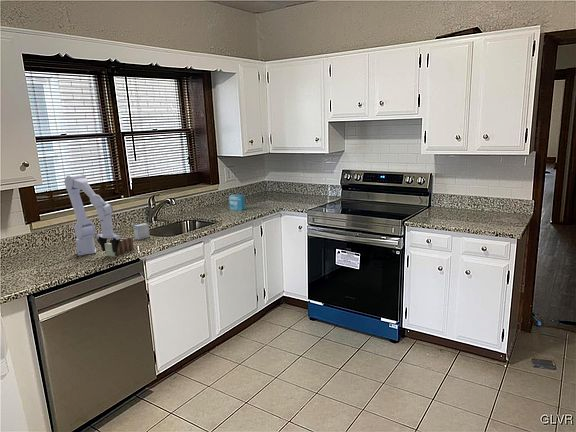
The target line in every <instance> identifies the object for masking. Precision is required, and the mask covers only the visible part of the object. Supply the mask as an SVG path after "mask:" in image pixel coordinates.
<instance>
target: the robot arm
mask: <svg viewBox="0 0 576 432" xmlns="http://www.w3.org/2000/svg"><path fill="white" fill-rule="evenodd" d="M88 180H89V179H88V178H87V177H86V175H85V174H83V173H82V174H74V175H67V176H66V177H65V179H64V181H63V182H64V186H65V189H66V192H67V193H68V197H69V199H70V203H71V205H72V209H73V211H74V212H73V213H74V215H75V219H76V223H75V224H74V225H73V226H74V234H75V237H77V238H75V243H76V253H77V256H84V255H85V256H86V255H90V254H96V253H97V248H96V245H95V239H94V237H95V234H96V232H97V229H96V227H95V225H94V222H93V221H92V220H90V219H88V215H87V212H86V209H85V207H84V204H83V200H82V197H81V194H80V192H81V191H82V192H84V194H86V196H87V197H88V198H89V202H90V203H91V205H92V206H93V207H94V208H95V209H96V215H97V216H98V219H99V221H100V222H99V223H100V229H101V233H97V234H96V238H97V239H96V241H97V243H99V246H100V247H101V250H102V252H106V251H105V243H108V242H107V241H108V239H110V240H109V243H110V242H111V244H112V248H113V252H117V249H118V244H119V242H120V238H121V237H120V234H116V233H114V226H113V219H112V214H113V212H114V209H113V206H112V205H111V204H110V203H107V202H106V201H105V200H104V199H103V198H102V197H101V195H100V194H96V193H95V191H94V190H93V189H92V187H91V186H90V184H89V183H88V182H89V181H88Z"/></svg>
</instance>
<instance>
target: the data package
mask: <svg viewBox="0 0 576 432" xmlns="http://www.w3.org/2000/svg"><path fill="white" fill-rule="evenodd" d="M228 203H229V210H230V211H244V210H245V209H246V204H245V195H244V194H231V195H229V196H228Z"/></svg>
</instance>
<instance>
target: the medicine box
mask: <svg viewBox="0 0 576 432" xmlns="http://www.w3.org/2000/svg"><path fill="white" fill-rule="evenodd" d="M149 227H150V226H149V223H145V222H144V223H140V224H135V225H133V232H134V239H135V240H143V239H147V238H150V228H149Z"/></svg>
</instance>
